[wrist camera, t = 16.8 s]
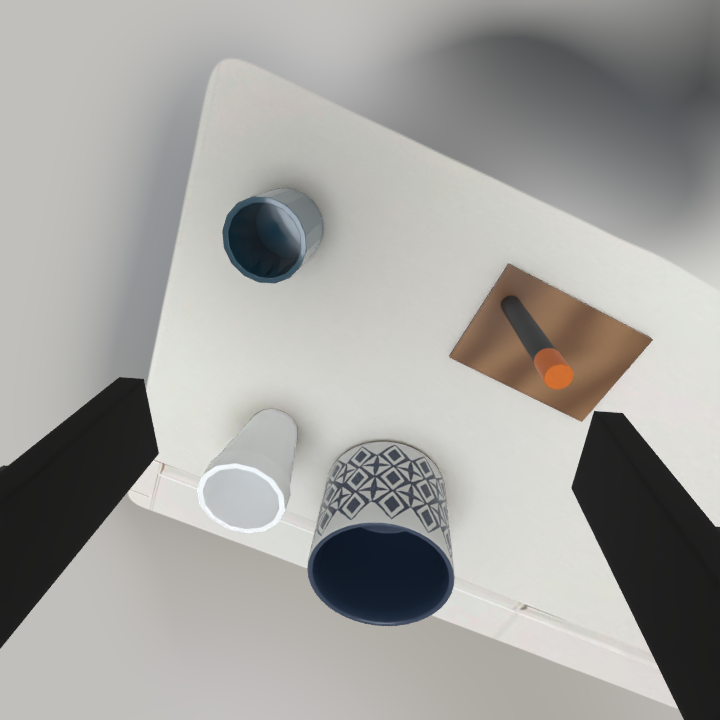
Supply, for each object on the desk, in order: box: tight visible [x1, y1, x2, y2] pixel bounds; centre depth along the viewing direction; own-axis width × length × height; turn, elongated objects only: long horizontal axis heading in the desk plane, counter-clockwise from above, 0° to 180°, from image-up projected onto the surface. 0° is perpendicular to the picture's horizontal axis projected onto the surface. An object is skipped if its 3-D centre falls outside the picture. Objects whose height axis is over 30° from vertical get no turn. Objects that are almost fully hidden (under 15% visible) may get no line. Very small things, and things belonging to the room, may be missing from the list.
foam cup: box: [197, 409, 298, 533], centre depth 53 cm, size 10×9×13 cm
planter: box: [307, 442, 455, 626], centre depth 54 cm, size 16×16×14 cm
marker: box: [501, 296, 574, 389], centre depth 40 cm, size 2×2×17 cm
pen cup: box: [223, 188, 323, 283], centre depth 43 cm, size 7×7×9 cm
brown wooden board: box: [450, 264, 653, 422], centre depth 50 cm, size 18×12×1 cm, turn 64°
